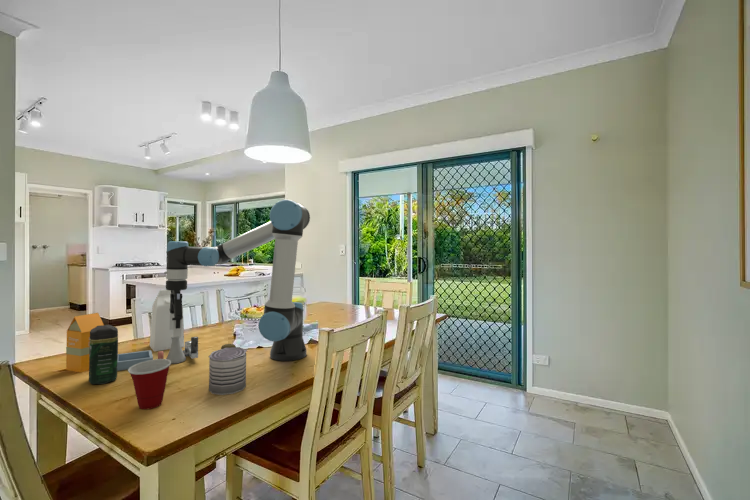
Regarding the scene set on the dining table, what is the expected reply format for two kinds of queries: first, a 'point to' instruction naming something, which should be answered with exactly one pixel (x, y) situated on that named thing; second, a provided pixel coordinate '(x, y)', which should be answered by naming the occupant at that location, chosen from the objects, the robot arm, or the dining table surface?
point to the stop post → (161, 355)
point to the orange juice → (80, 341)
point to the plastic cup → (150, 382)
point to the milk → (162, 323)
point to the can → (227, 371)
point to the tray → (132, 359)
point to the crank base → (185, 353)
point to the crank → (192, 347)
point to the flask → (176, 351)
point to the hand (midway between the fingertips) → (175, 332)
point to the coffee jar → (103, 354)
